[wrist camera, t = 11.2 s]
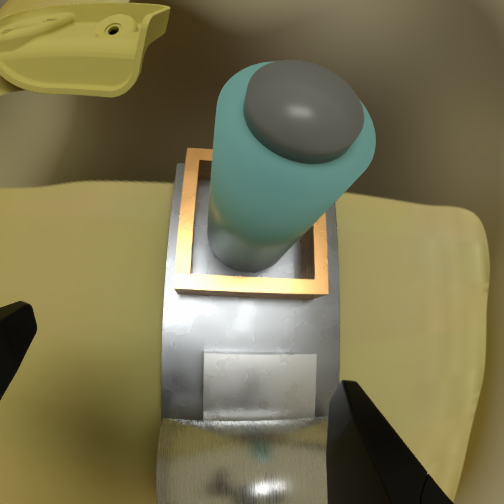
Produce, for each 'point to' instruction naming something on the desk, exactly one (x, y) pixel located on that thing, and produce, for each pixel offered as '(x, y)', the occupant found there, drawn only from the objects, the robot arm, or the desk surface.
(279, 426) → the motor assembly
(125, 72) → the plastic component
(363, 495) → the robot arm
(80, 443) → the desk surface
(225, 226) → the teal cylinder grey dome
